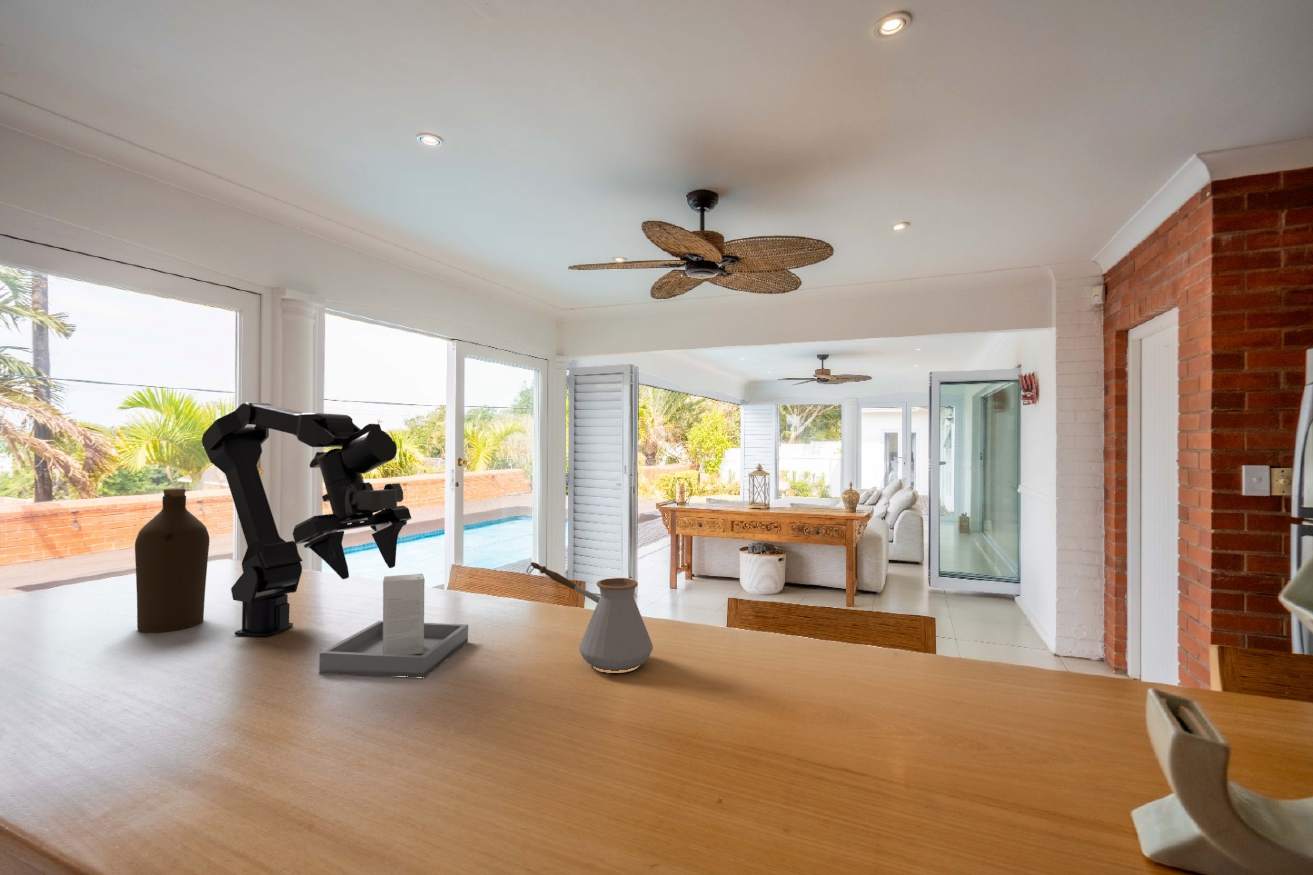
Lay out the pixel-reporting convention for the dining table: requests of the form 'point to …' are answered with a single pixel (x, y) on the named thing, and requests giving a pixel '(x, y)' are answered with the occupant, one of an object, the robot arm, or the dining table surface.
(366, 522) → the robot arm
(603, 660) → the coffee pot
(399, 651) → the skincare box
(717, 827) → the dining table surface
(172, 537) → the olive oil
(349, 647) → the tray
